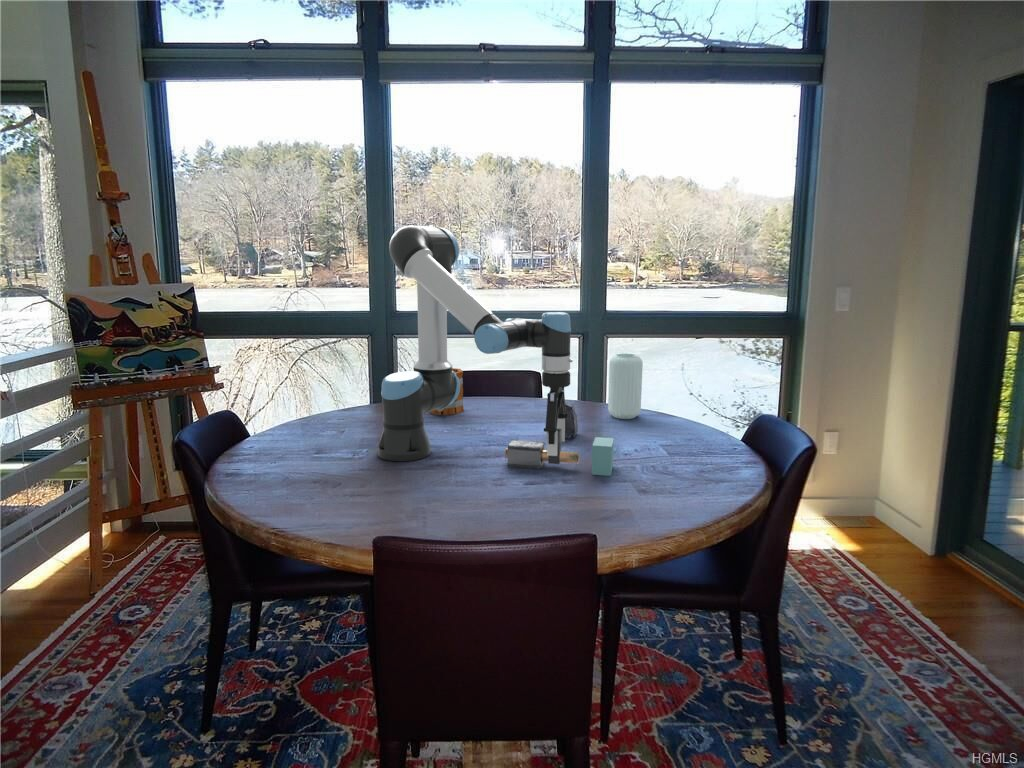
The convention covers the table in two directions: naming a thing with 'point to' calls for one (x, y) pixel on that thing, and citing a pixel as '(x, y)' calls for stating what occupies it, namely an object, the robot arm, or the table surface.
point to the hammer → (561, 455)
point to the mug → (458, 403)
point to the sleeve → (525, 454)
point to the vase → (625, 386)
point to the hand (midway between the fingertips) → (556, 448)
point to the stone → (570, 421)
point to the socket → (602, 456)
